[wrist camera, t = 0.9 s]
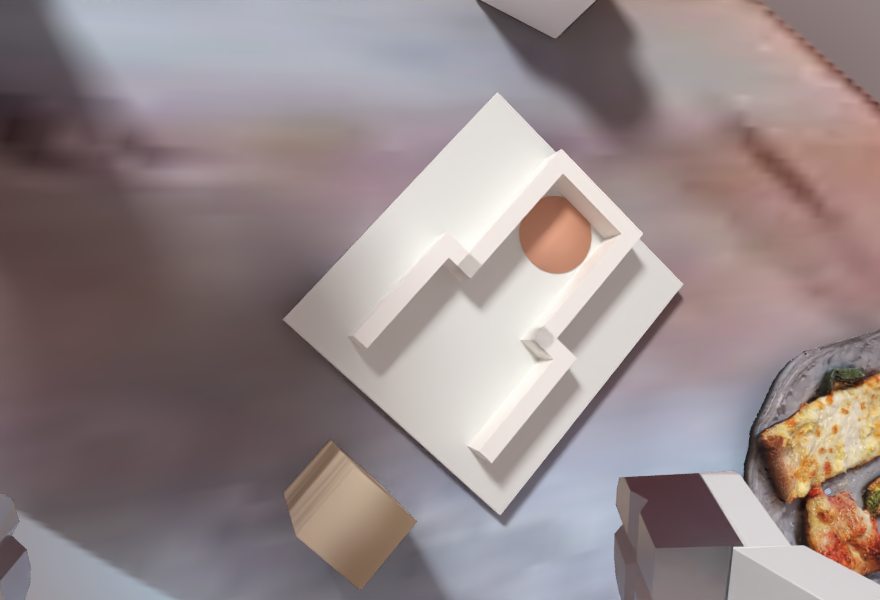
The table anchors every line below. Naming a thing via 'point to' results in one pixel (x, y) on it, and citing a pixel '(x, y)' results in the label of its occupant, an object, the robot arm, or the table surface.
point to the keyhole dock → (488, 302)
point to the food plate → (823, 452)
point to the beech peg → (345, 515)
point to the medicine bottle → (544, 13)
